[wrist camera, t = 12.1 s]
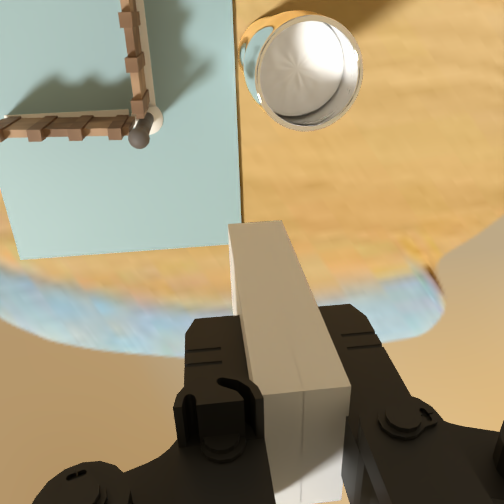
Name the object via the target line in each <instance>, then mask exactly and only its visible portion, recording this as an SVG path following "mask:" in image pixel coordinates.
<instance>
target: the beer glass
mask: <svg viewBox="0 0 504 504" xmlns="http://www.w3.org/2000/svg"><path fill="white" fill-rule="evenodd" d="M238 62H239V66H240V69H241V71H242V73H243V75H244V78H245V82H246V85H247V88H248V90H249V92H250V94H251V96H252V98H253V100H254V101H255V102H256V104H257V105H258V106H259V107H260V108H261V109H262V110H263V111H264V112H265V113H266V114H267V115H268V116H270V117H271V118H272V119H273V120H274V121H276V122H277V123H279V124H280V125H282V126H284V127H286V128H289V129H292V130H296V131H315V130H319V129H322V128H325V127H327V126H329V125H331V124H333V123H335V122H336V121H337V120H339V119H340V118H341V117H342V116H343V115H344V114H345V113H346V112H347V111H348V110H349V109H350V107H351V106H352V105H353V103H354V101H355V100H356V98H357V96H358V93H359V91H360V88H361V84H362V79H363V60H362V55H361V51H360V48H359V46H358V43H357V41H356V40H355V38H354V36H353V35H352V34H351V32H350V31H349V30H348V29H347V28H346V27H345V26H344V25H342V24H341V23H339V22H338V21H336V20H334V19H332V18H330V17H327V16H324V15H321V14H319V13H315V12H311V11H305V10H292V11H286V12H282V13H279V14H276V15H274V16H266V17H263V18H260V19H258V20H256V21H255V22H253V23H252V24H251V25H250V26H249V27H248V28H247V29H246V31H245V32H244V34H243V36H242V38H241V40H240V43H239V47H238Z"/></svg>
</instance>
